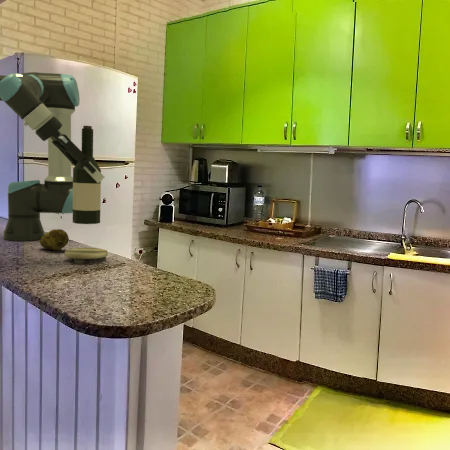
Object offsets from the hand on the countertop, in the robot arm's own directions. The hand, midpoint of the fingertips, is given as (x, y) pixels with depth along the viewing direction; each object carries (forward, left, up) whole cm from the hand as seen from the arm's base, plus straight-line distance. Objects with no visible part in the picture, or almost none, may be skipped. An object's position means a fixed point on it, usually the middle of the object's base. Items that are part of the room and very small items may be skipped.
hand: (97, 179), depth 145 cm
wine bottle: (+1, -3, -14) cm, 14 cm away
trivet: (0, -3, -26) cm, 26 cm away
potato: (-19, -13, -26) cm, 35 cm away
